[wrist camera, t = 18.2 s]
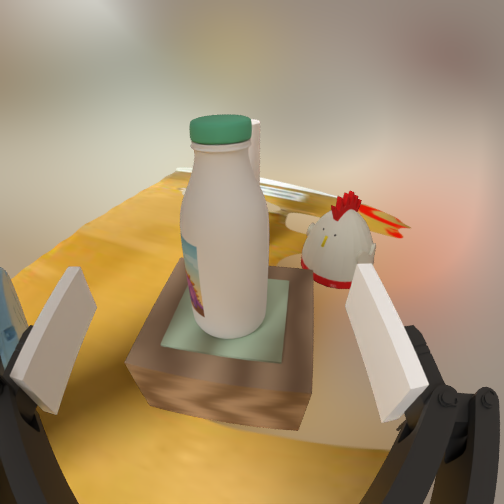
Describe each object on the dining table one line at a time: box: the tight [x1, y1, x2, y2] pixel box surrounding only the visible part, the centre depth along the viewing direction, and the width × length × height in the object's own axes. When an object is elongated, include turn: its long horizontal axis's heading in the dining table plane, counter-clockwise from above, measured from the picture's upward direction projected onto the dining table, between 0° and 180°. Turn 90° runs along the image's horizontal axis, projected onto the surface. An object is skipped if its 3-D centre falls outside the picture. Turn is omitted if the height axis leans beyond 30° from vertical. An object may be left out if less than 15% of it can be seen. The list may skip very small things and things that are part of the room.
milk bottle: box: [180, 115, 269, 339], centre depth 26 cm, size 8×8×20 cm
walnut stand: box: [124, 258, 314, 431], centre depth 35 cm, size 18×18×10 cm
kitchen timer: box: [301, 191, 376, 289], centre depth 51 cm, size 14×14×15 cm
